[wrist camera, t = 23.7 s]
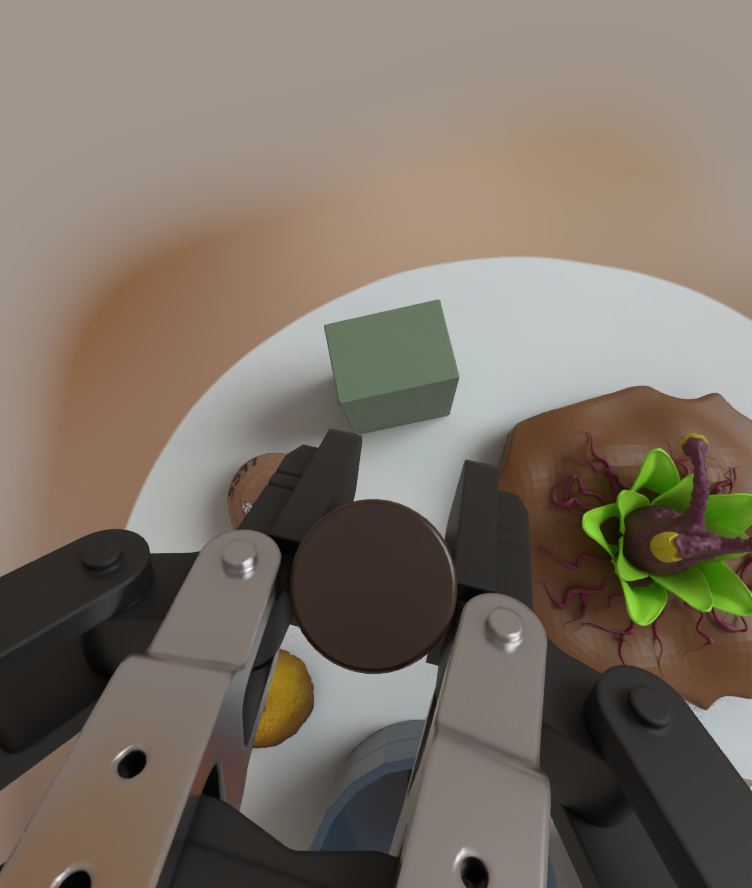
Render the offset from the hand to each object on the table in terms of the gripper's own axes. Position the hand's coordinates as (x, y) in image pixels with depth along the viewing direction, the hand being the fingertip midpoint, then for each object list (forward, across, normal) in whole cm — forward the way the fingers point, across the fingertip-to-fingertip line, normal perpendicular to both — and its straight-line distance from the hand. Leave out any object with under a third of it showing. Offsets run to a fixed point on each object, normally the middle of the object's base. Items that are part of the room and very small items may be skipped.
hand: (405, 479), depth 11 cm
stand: (+23, +3, +10) cm, 26 cm away
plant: (+18, -14, +15) cm, 28 cm away
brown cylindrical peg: (+2, 0, +5) cm, 5 cm away
